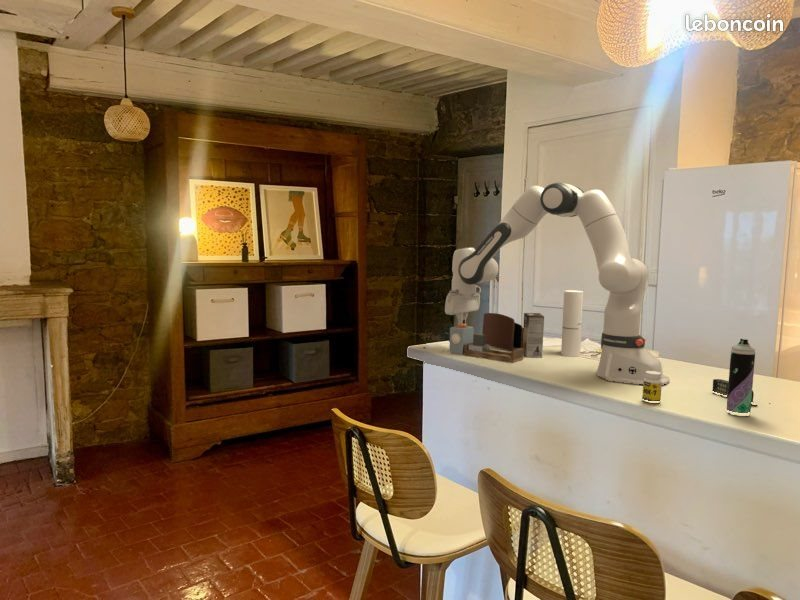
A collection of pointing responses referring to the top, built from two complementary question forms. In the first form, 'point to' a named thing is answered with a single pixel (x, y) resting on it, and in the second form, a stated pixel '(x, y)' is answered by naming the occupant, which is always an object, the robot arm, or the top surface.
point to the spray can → (741, 377)
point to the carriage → (479, 344)
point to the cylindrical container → (572, 323)
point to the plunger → (462, 326)
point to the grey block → (460, 339)
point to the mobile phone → (723, 387)
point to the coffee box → (533, 335)
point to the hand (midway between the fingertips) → (461, 324)
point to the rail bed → (496, 355)
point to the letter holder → (502, 332)
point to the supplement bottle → (652, 386)
